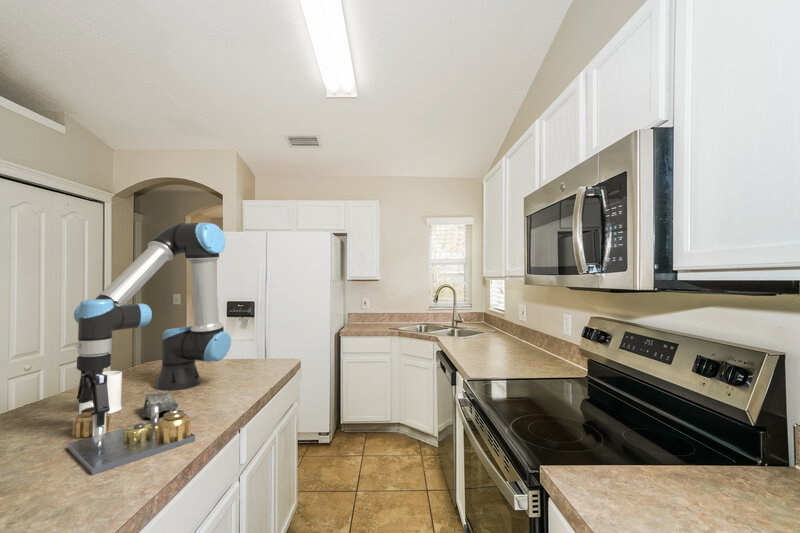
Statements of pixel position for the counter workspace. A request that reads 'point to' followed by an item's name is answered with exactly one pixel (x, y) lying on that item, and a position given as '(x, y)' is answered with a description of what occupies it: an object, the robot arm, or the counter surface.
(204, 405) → the counter surface
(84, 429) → the gear
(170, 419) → the carrier
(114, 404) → the mug
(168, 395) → the rock
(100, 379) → the robot arm
